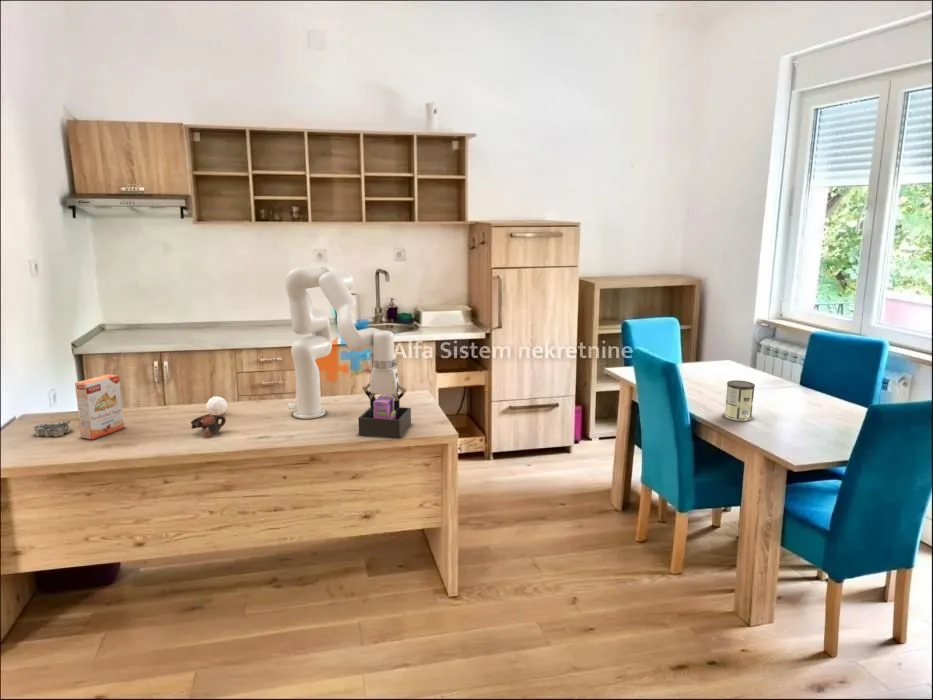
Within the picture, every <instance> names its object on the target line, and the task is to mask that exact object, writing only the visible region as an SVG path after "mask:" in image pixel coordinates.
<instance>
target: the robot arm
mask: <svg viewBox="0 0 933 700" xmlns="http://www.w3.org/2000/svg"><path fill="white" fill-rule="evenodd" d="M284 281H285V283H284V285H285V290H286V294H287V298H288V305H289V313H290V321H291V328H292V330H293V332H294V333H295V334H297V335H309V334H311V335H310V336H305V337H302V338H299V339H297V340H295V341H294V342H293V343H292V345H291V349H290V351H291V357H292V360H293V365H294V366H293V367H294V377H295V395H296V402H295V403H294V402H288V404H287V407H288V409H289V410H293V414H292V415H293V417H294V418H297V419H303V420H308V419H317V418H322V417H323V416H324V415H325V414H326V409H325V408H323V407H322V393H321V375H320V368H319V366H318V364H317V362H316V360H319V359H322V358H325V357H327V356H329V355H330V353H331V352H332V349H333V340H332V332H331V322H330V317H329V316H328V314H327V312H326V311H325V310H324V309H323V308H321V307H313V303H312V298H311V295H310V293H309V292H308V291H307V289H312V288H320V290H321V291H322V293H323V294H324V296H325V297H326V299H327V300H328V302H329V303H330V306H331V307H332V308H333V310H334V311H335V313H336V327H337V330H338V331H337V332H338V334H339V336H340V337H341V339H342V340H343V341H344V343H345V344H346V346H347V347H348V349H350V350H352V351H353V352H362V351H365V350H370V349H373V366H372V369H371V374H370V382H369V383H367V384H365V385H364V386H362V390H363V392H364V393H365V395H366V396H367V397H368V399H369V407H371V409H372V410H373V409H374V406H373V402H374V401H375V400H376V399H377V398H376V395H382V394H383V395H393V397H394V398H395V401H394V411H397V410H398V408H399V407H401V406H400V405H401V404H400V403H401V402H400V399H402V398H403V397H404V396H405V394H406V392H407V391H408V388H406V387H405V386H404V385H402V384H400V379H399V373H398V368H397V366H399V362H398V361H396V359H395V335H394V332H392V331H391V330H381V329H378V328H377V327H376V328H375V327H366V328H363V329H357V328H356V326H355V325H354V323H353V321H352V317H351V314H352V312H353V311H354V309H356V306H357V300H356V298H355V297H354V296H353V294H352V293H351V291H350V290H352V289H353V286H354V284H355V283H354V277H353V275H352V274H351V273H350V271H348V270H345V269H344V268H343V269H342V268H338V267H334V266H330V265H326V264H317V265H316V264H315V265H305V266H304V265H303V266H298V267H295V268H293V269H291V270H290V271H289V272H288V273H287V275H286V277H285V280H284ZM369 388H370V389H369ZM399 391H401V392H400V393H399Z"/></svg>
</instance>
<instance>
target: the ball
mask: <svg viewBox="0 0 933 700" xmlns="http://www.w3.org/2000/svg"><path fill="white" fill-rule="evenodd" d="M205 404H206V405H205V406H206V408H205V409H206V411H207V412H208V414H211V416H219V415H223V414H224V413H225V412H226V410H227V409H228V402H227V401H226V399H225V398H223V397H221V396H212V397H211V398H209V399H208V401H207V402H206V403H205Z"/></svg>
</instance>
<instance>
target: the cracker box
mask: <svg viewBox="0 0 933 700" xmlns="http://www.w3.org/2000/svg"><path fill="white" fill-rule="evenodd" d="M74 386H75V397H76V405H77V412H78V413H77V414H78V415H77V416H78V422H79V432H80V438H82V439H86V440H91V441H92V440H95V439H98V438H101V437H103V436H106V435H109V434H111V433H115V432H117V431H120V430H123V429H125V424H124V414H123V405H122V404H123V403H122V392H121V382H120V375H117V374H110V373H107V374H102V375H100V376H96V377H92V378H88V379H83V380H80V381H77V382H74Z"/></svg>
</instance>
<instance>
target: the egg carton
mask: <svg viewBox="0 0 933 700" xmlns="http://www.w3.org/2000/svg"><path fill="white" fill-rule="evenodd" d="M70 423H71V420H64V421H62V422H58V423H56V422H55V423H39V424H38V425H35V426H32V428H33V429H34V434H35V436H36V437H41V436H44V437H51V436H53V437H54V438H57V437H61V436H64V435H65V434H69V433H70V432H71V430H70V425H69V424H70Z"/></svg>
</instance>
